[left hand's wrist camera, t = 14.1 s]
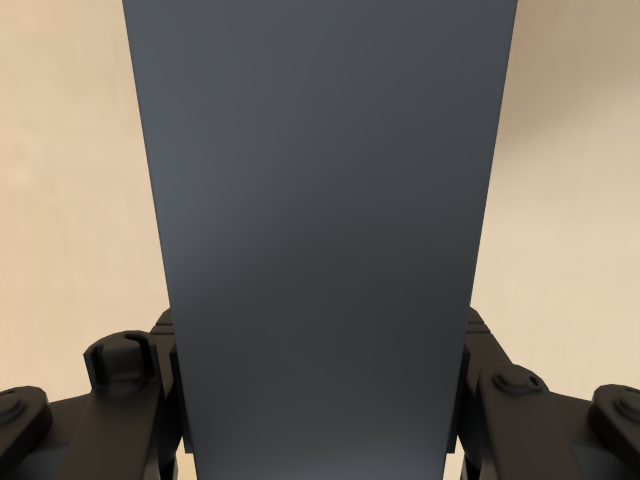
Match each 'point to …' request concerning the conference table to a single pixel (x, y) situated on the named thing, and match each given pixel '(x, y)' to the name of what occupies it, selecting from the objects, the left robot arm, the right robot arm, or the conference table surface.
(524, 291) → the conference table surface
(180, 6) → the bar
